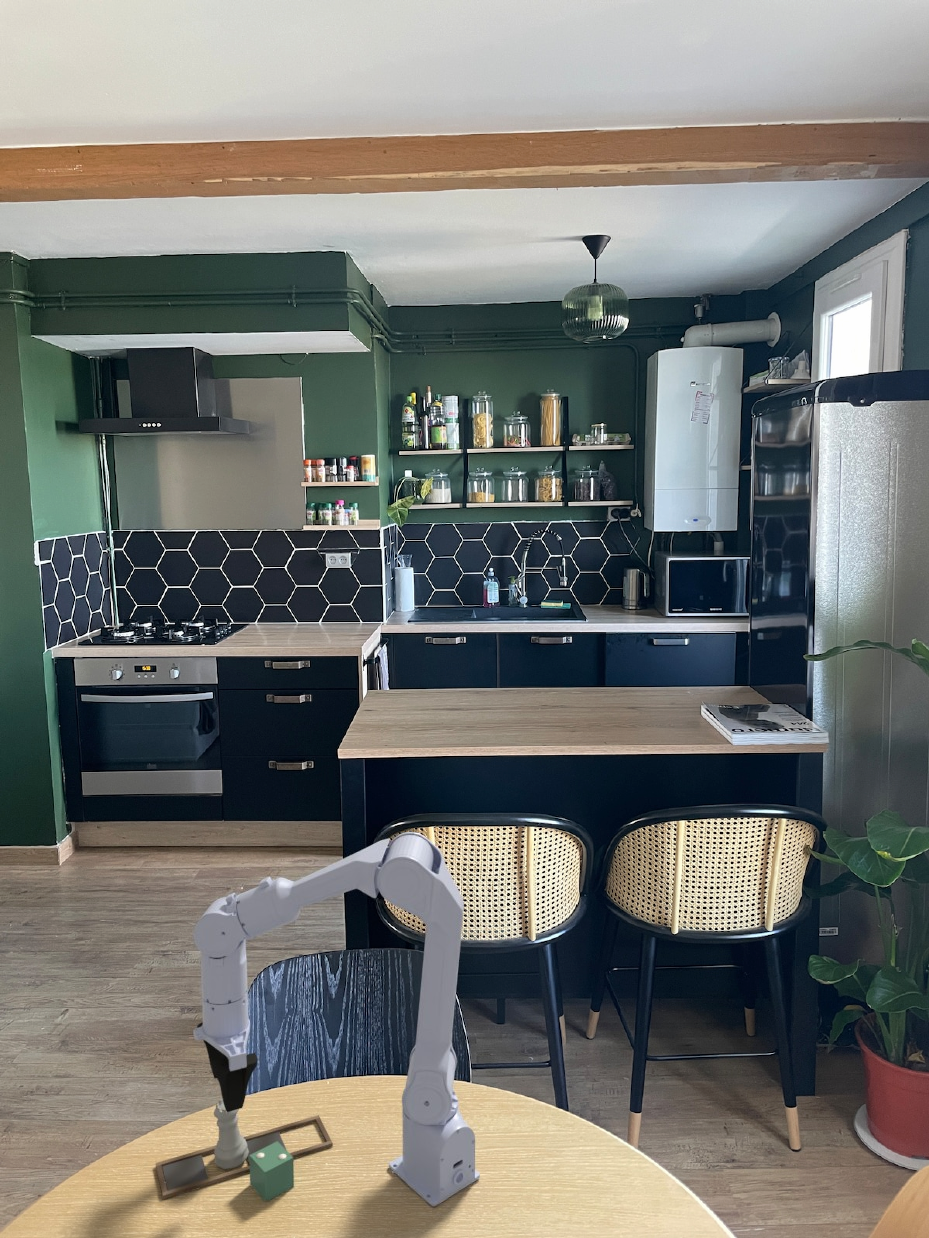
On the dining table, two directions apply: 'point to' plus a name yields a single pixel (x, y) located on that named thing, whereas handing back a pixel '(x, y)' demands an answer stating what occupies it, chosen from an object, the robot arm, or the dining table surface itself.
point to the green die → (271, 1171)
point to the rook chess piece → (229, 1139)
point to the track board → (192, 1173)
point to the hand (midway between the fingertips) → (227, 1091)
